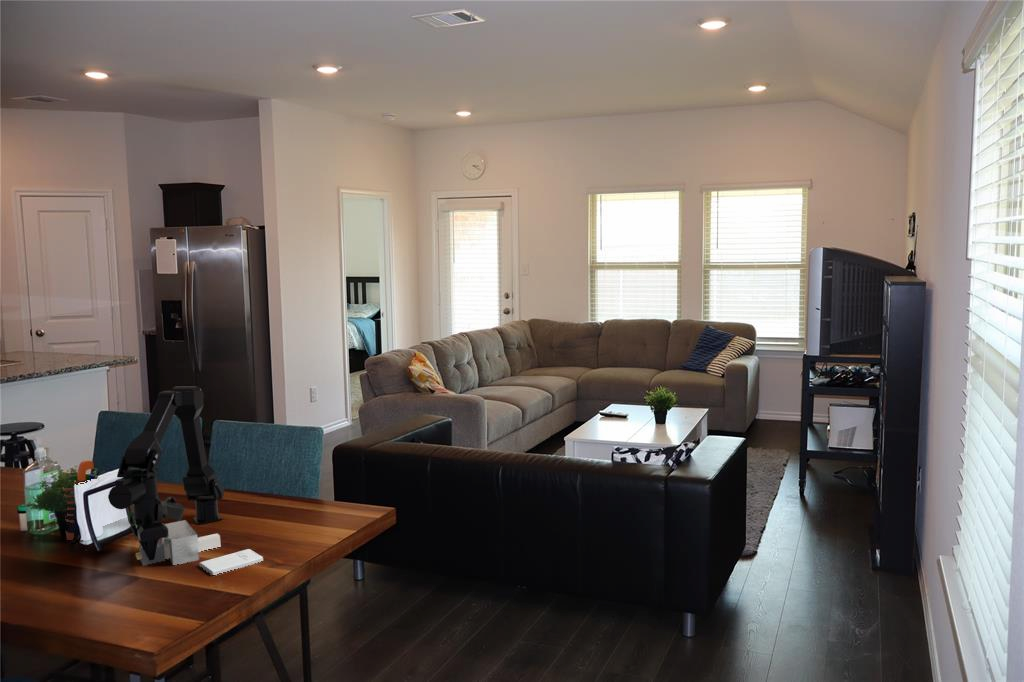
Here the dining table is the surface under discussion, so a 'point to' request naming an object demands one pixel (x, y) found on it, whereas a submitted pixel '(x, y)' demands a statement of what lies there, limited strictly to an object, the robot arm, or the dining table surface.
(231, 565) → the external hard drive
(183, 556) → the block
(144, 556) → the cable plug
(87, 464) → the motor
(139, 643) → the dining table surface
